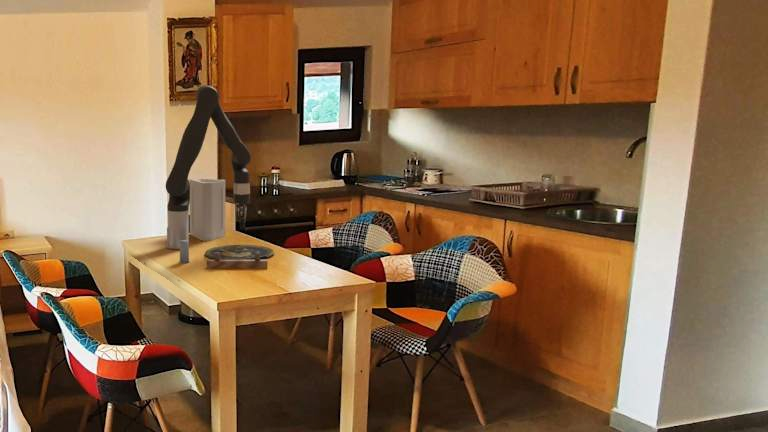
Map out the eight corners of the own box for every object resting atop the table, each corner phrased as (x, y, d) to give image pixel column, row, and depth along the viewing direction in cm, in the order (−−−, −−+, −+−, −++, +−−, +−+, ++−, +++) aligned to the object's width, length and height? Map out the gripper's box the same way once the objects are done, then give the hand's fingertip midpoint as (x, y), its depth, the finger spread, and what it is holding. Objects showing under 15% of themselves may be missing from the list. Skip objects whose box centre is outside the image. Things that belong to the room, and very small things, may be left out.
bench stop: (206, 268, 275) (206, 253, 274) (207, 266, 278) (207, 252, 277) (267, 268, 279) (267, 253, 278) (267, 266, 282) (267, 252, 281)
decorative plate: (235, 241, 322) (287, 249, 309) (235, 245, 322) (287, 253, 309) (189, 253, 296) (244, 262, 282) (190, 257, 296) (244, 266, 283)
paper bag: (231, 238, 338) (232, 182, 334) (202, 240, 330) (202, 183, 325) (217, 232, 354) (217, 178, 349) (189, 234, 345) (188, 178, 341)
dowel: (179, 263, 282) (179, 241, 281) (180, 261, 286) (180, 240, 284) (188, 263, 283) (188, 241, 281) (189, 261, 286) (189, 240, 285)
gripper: (234, 191, 324) (235, 227, 326) (232, 194, 311) (233, 232, 313) (250, 191, 325) (251, 226, 327) (249, 194, 312) (250, 231, 314)
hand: (242, 229), depth 320 cm, fingers closed
